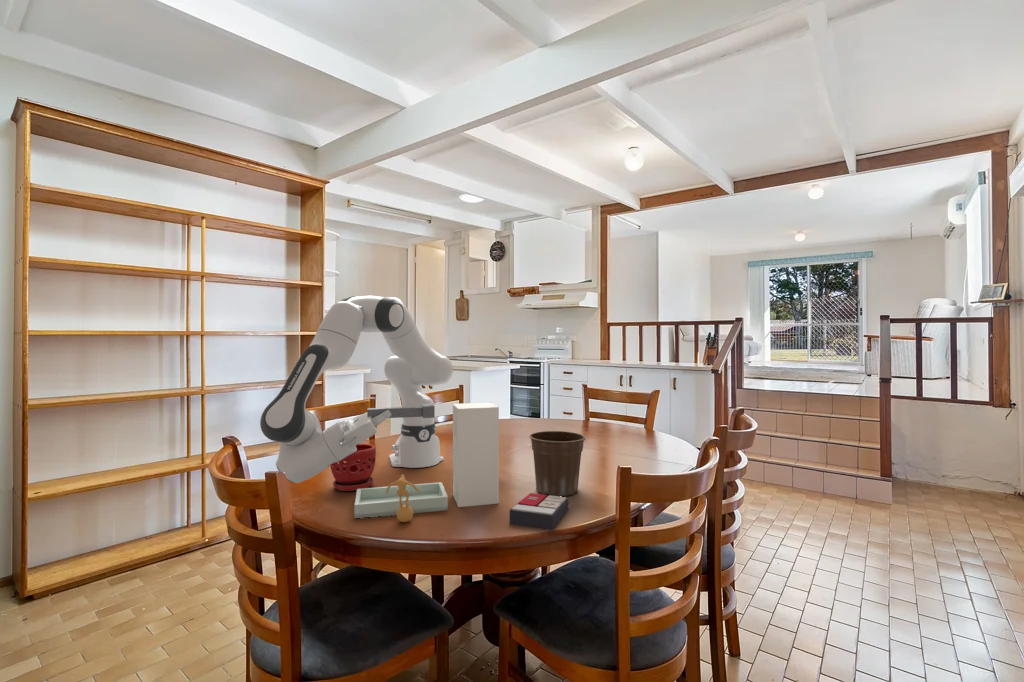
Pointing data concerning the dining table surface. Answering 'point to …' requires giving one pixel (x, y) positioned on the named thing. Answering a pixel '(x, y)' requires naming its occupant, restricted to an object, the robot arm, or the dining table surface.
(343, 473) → the plant pot
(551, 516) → the dark grey box
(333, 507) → the dining table surface
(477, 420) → the post
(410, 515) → the figurine
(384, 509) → the tray
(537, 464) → the plant pot
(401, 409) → the stop bar
